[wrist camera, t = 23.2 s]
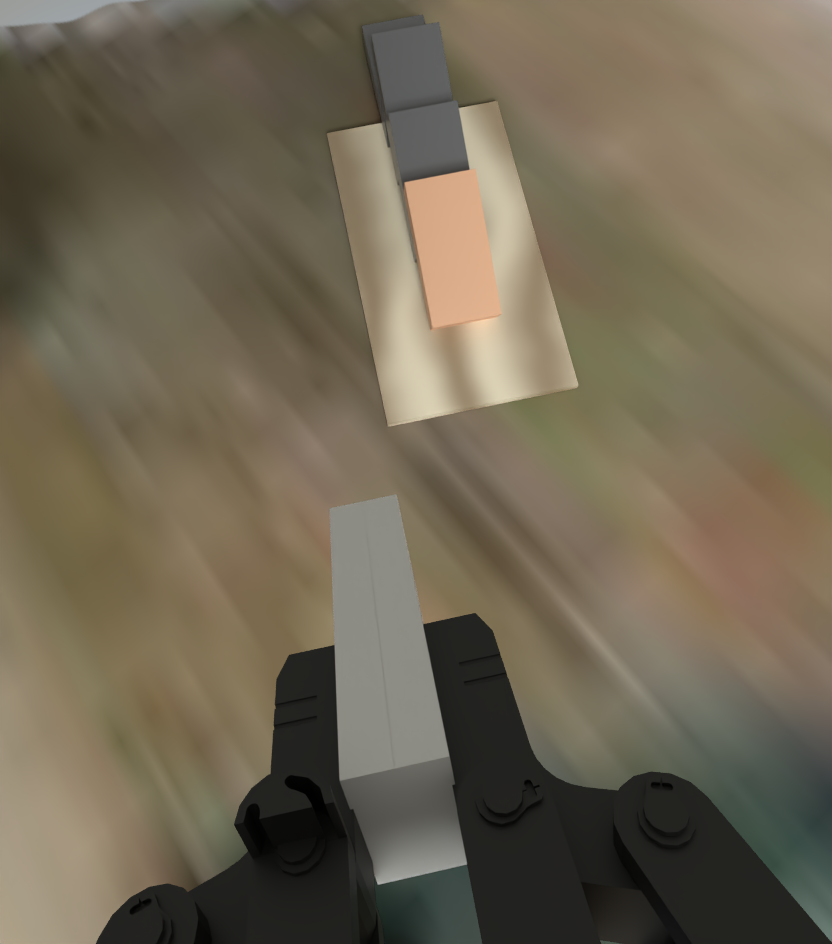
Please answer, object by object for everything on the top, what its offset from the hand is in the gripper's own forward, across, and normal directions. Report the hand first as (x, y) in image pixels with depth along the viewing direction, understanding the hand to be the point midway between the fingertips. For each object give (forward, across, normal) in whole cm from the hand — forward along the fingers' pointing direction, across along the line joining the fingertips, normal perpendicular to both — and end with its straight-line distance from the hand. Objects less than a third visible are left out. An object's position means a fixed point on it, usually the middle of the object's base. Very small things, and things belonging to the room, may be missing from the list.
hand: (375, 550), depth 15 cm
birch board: (+39, +8, -4) cm, 40 cm away
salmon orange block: (+33, +8, -7) cm, 35 cm away
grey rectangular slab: (+42, +8, +2) cm, 42 cm away
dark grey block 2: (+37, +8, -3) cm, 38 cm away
